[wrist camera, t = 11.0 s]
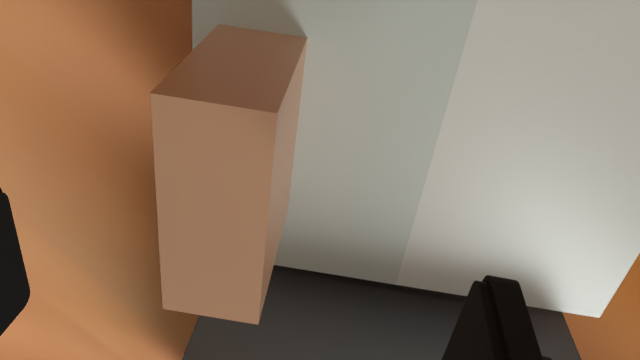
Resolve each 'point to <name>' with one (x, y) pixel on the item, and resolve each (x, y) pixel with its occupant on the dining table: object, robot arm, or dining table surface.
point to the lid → (400, 149)
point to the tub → (352, 323)
